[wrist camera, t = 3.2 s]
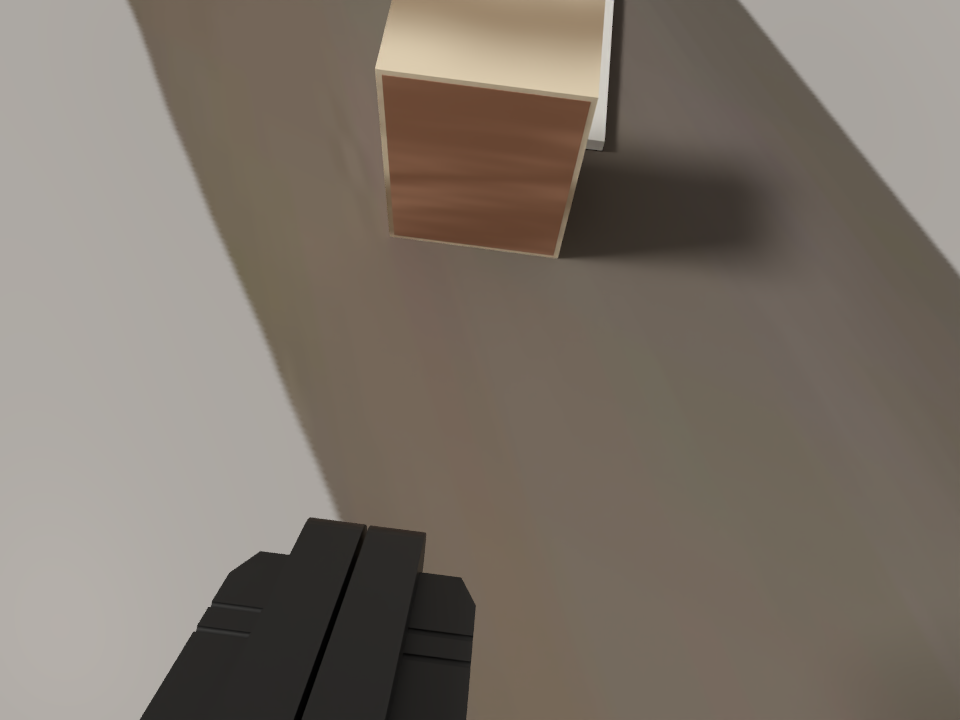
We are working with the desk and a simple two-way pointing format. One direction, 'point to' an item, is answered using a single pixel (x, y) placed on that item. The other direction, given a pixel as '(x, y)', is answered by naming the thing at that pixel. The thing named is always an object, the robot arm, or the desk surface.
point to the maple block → (487, 118)
